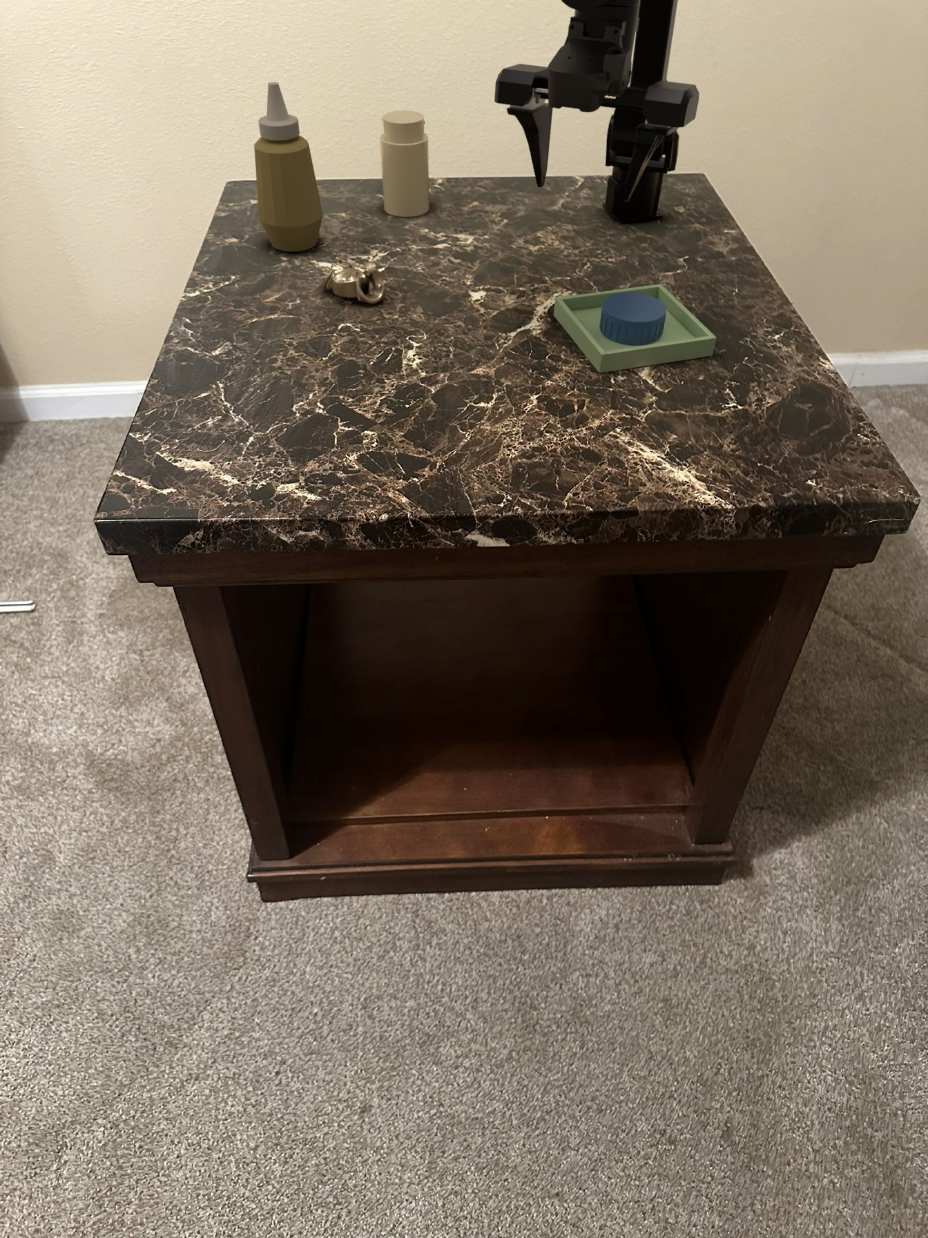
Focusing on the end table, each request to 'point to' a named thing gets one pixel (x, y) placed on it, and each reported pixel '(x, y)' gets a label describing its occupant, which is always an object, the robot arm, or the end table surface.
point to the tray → (675, 344)
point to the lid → (632, 319)
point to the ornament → (355, 281)
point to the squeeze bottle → (286, 179)
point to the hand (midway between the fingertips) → (582, 193)
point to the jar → (405, 164)
